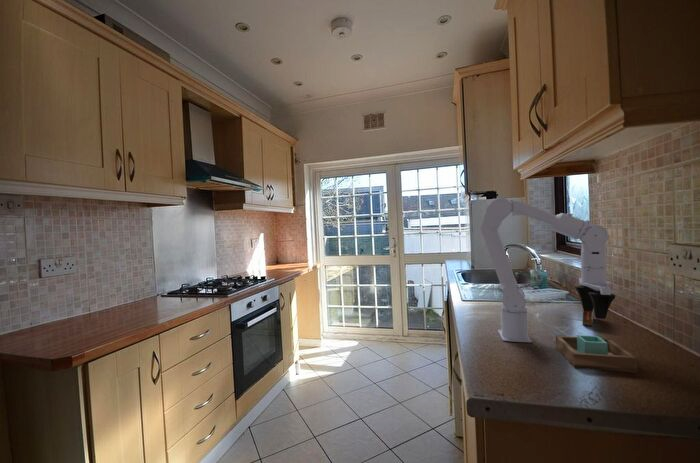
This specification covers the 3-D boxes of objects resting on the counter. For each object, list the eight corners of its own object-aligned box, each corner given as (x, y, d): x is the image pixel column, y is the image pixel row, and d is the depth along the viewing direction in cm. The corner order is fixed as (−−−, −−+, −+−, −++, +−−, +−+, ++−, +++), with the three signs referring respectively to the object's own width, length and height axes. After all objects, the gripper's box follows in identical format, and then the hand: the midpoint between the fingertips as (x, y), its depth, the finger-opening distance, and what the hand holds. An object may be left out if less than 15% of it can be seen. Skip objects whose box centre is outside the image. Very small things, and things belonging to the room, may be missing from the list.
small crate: (577, 351, 88) (576, 335, 88) (598, 352, 87) (598, 336, 87) (584, 359, 84) (584, 341, 83) (607, 360, 82) (607, 343, 82)
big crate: (555, 347, 93) (555, 335, 93) (609, 351, 90) (608, 338, 90) (574, 367, 81) (574, 354, 80) (636, 372, 77) (636, 358, 77)
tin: (585, 316, 121) (584, 294, 120) (595, 317, 119) (595, 295, 118) (581, 327, 109) (581, 302, 109) (593, 329, 107) (593, 304, 107)
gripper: (624, 271, 84) (624, 322, 84) (597, 263, 98) (598, 308, 98) (592, 270, 86) (593, 321, 86) (571, 263, 100) (571, 307, 100)
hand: (594, 314), depth 92 cm, fingers open, 7 cm apart
